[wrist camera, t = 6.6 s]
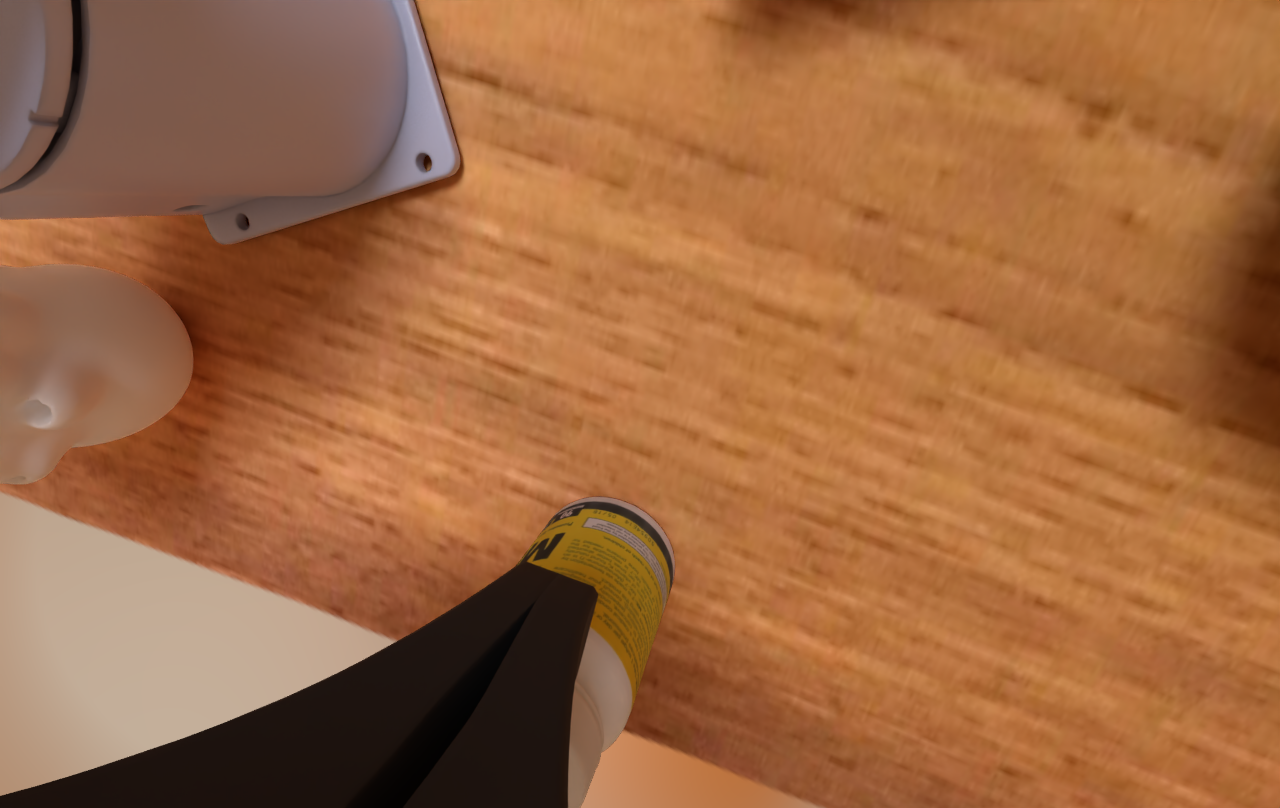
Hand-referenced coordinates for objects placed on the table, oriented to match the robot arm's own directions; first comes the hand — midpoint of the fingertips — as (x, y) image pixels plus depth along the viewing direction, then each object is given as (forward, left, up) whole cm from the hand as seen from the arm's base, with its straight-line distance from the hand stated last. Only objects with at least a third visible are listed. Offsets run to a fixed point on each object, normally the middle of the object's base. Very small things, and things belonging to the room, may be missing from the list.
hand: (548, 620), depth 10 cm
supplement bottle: (-3, -4, -10) cm, 11 cm away
